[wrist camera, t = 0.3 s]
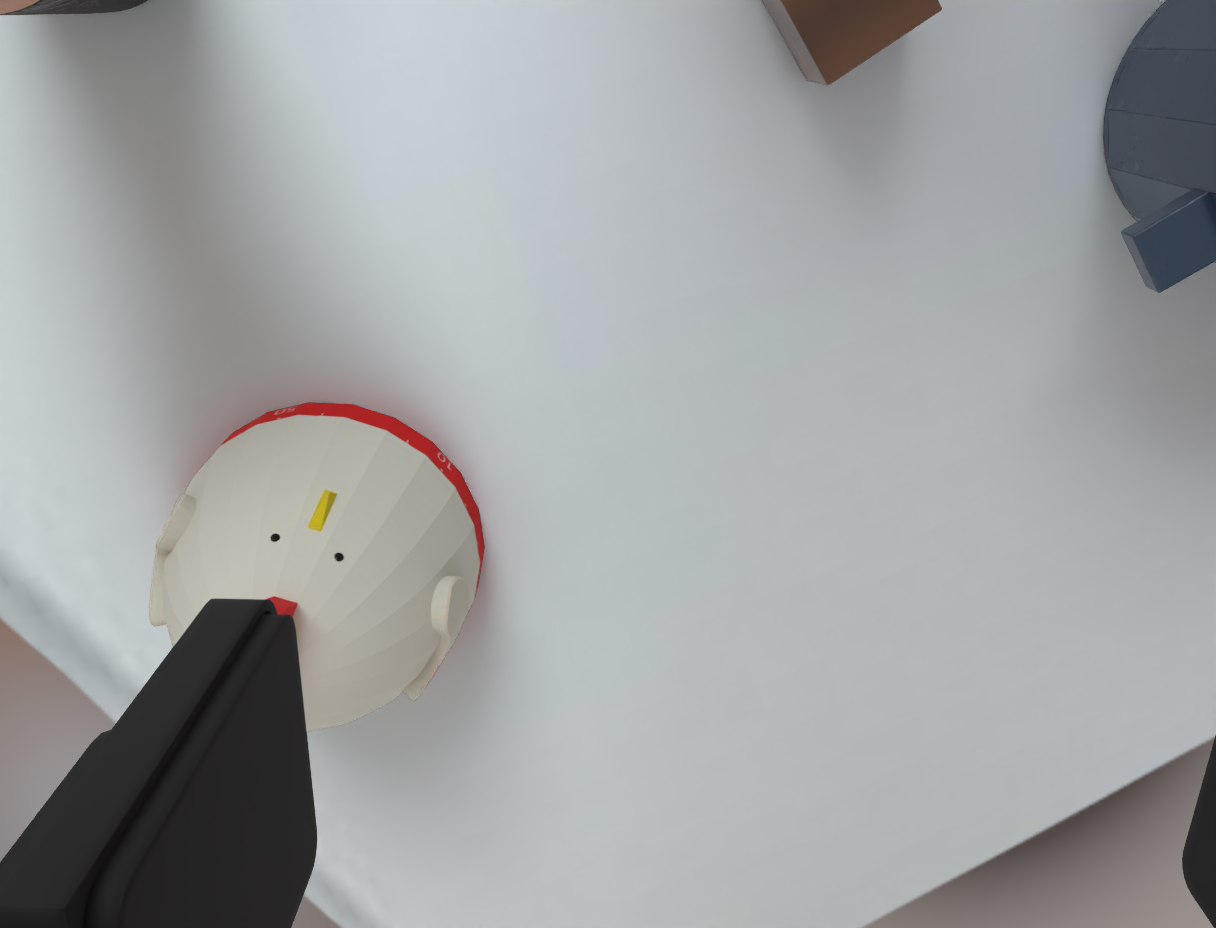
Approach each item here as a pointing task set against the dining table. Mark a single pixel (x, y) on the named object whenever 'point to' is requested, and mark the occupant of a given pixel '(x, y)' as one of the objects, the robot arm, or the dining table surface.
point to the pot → (1167, 142)
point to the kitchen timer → (330, 550)
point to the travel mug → (64, 6)
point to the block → (843, 31)
